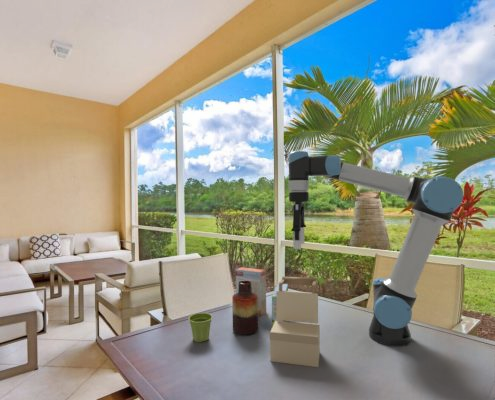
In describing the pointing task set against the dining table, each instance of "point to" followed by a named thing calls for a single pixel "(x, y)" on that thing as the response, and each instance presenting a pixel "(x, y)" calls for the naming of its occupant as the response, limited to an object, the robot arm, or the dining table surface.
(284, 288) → the snack box
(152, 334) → the dining table surface
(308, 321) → the flap
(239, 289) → the vase
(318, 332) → the carton
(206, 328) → the plant pot
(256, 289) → the cracker box
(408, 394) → the dining table surface
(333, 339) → the dining table surface
